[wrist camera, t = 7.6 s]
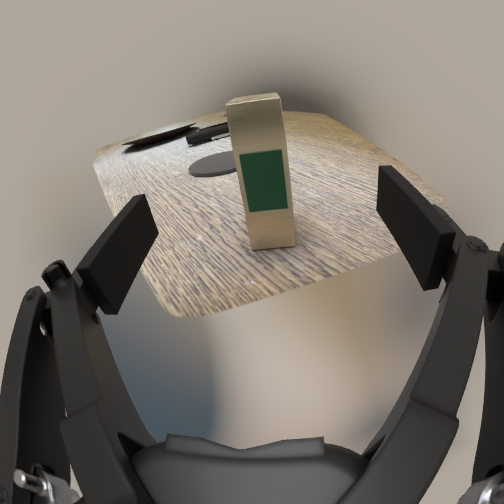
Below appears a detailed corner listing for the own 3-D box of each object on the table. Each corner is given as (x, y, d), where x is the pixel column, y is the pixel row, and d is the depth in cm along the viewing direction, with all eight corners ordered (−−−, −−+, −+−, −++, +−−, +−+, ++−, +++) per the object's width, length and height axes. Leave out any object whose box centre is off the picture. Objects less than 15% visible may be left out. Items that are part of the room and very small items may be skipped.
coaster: (176, 175, 47) (175, 172, 46) (217, 153, 54) (216, 150, 54) (228, 179, 41) (227, 175, 40) (267, 154, 48) (266, 151, 48)
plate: (199, 123, 98) (197, 114, 96) (198, 135, 75) (196, 124, 73) (133, 141, 96) (131, 133, 94) (113, 160, 74) (110, 150, 72)
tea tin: (254, 217, 30) (233, 98, 22) (290, 213, 29) (276, 92, 22) (251, 251, 25) (223, 105, 17) (296, 247, 24) (280, 97, 17)
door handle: (174, 133, 73) (188, 135, 60) (235, 117, 79) (260, 117, 67) (177, 144, 75) (191, 147, 62) (237, 126, 81) (262, 128, 68)
